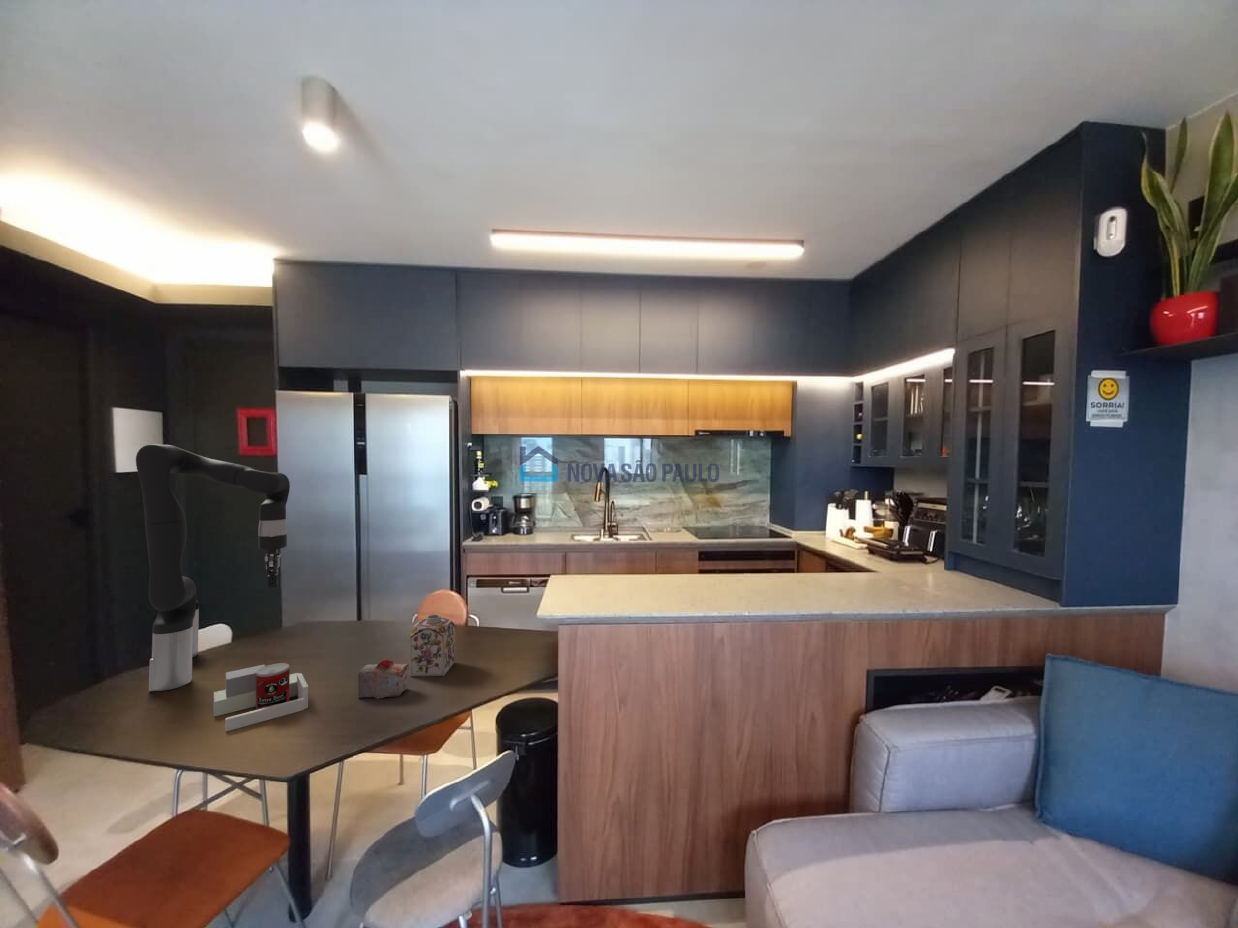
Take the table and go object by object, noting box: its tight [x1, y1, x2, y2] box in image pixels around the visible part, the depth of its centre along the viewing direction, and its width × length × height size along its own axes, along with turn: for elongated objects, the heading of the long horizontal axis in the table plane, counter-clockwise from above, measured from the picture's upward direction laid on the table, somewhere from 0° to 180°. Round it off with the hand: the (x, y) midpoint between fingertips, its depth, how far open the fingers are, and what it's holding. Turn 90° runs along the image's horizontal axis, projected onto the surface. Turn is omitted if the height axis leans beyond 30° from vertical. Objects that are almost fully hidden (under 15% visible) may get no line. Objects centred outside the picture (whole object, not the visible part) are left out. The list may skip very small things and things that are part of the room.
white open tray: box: [213, 664, 309, 732], centre depth 135 cm, size 20×19×9 cm
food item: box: [357, 659, 410, 700], centre depth 143 cm, size 14×8×10 cm, turn 95°
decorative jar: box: [409, 613, 456, 677], centre depth 161 cm, size 12×12×18 cm
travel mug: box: [192, 599, 200, 658], centre depth 172 cm, size 6×7×20 cm
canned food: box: [255, 662, 291, 710], centre depth 135 cm, size 8×8×11 cm
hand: (272, 586), depth 155 cm, fingers closed
